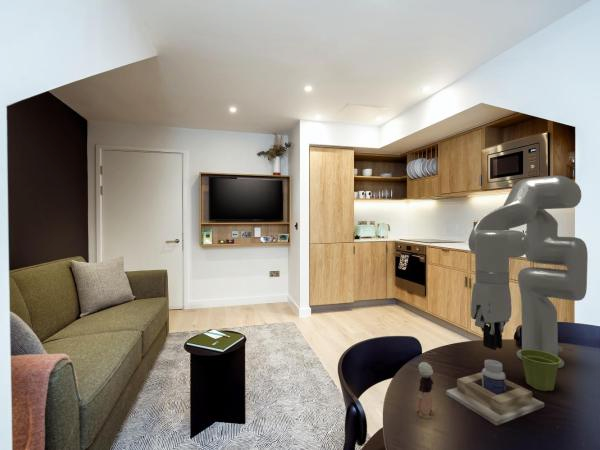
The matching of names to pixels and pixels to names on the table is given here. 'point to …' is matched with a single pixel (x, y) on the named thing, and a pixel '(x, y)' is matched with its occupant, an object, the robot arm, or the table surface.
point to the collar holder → (494, 399)
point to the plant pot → (540, 368)
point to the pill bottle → (493, 377)
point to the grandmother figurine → (425, 391)
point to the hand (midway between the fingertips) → (492, 346)
